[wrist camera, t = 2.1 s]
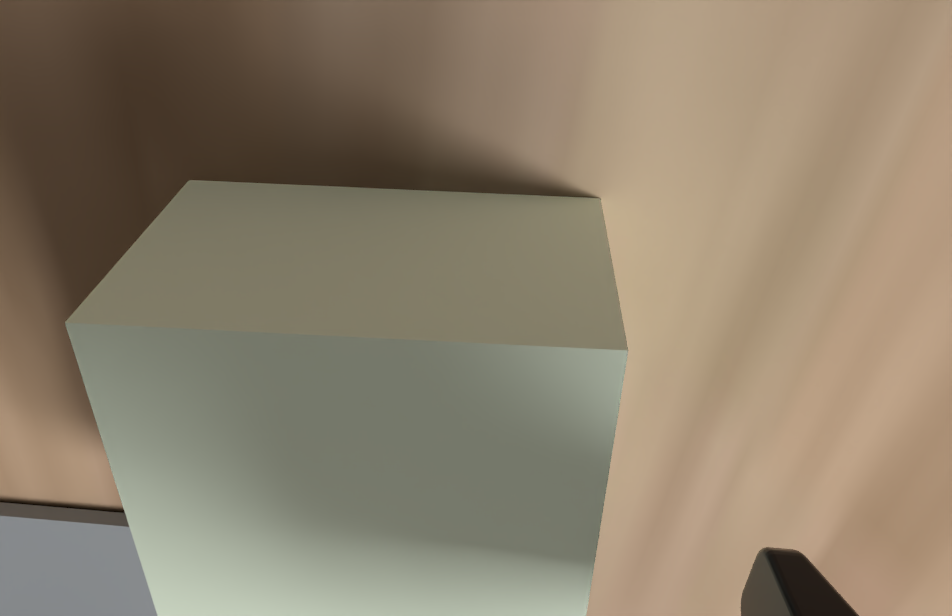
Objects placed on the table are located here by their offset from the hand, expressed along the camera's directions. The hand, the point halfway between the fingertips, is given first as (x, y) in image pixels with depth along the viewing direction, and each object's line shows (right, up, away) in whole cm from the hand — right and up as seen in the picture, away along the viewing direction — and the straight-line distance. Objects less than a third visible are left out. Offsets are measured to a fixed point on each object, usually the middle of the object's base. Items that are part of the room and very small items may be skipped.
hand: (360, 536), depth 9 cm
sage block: (0, +2, +3) cm, 4 cm away
